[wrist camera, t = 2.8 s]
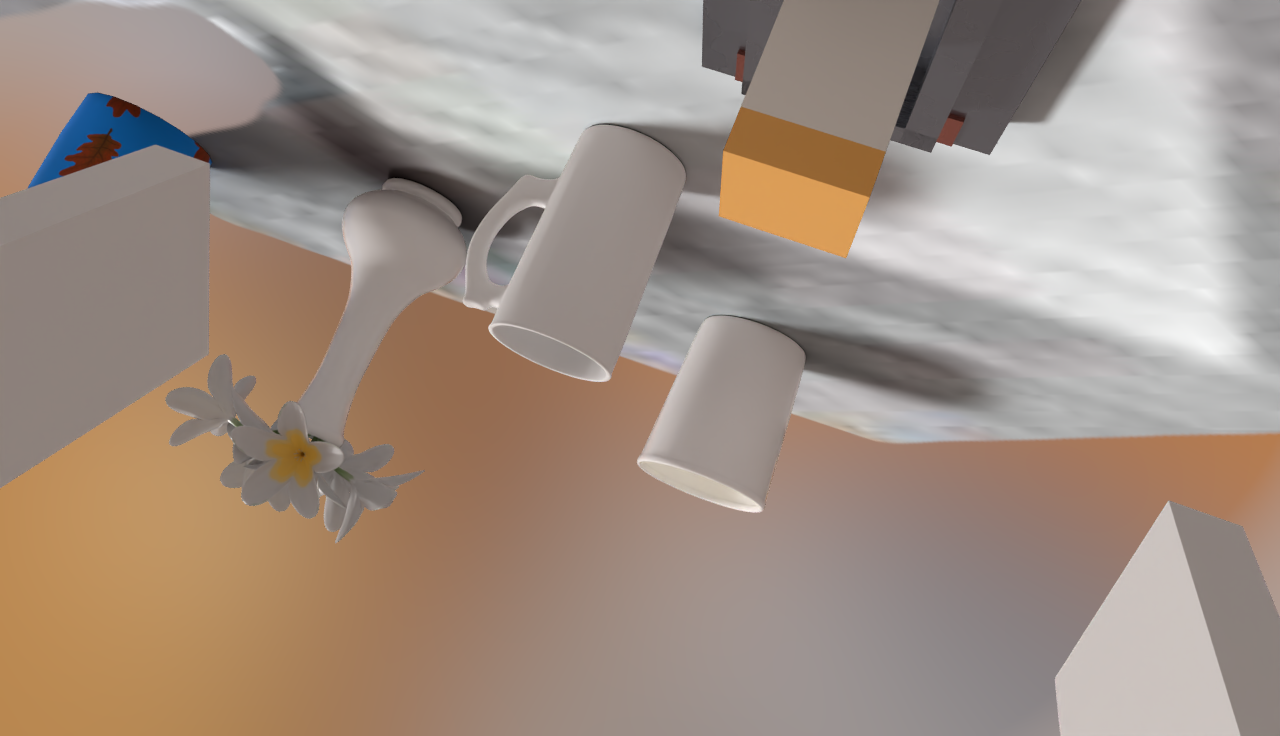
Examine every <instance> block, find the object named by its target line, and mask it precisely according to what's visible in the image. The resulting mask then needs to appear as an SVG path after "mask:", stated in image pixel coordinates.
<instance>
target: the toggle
mask: <svg viewBox="0 0 1280 736" xmlns="http://www.w3.org/2000/svg"><path fill="white" fill-rule="evenodd" d="M938 3H939V0H784V1H783V4H782V6H781V9H780V11H779V14H778V16H777V19H776V21H775V24H774V26H773V28H772V31H771V33H770V36H769V38H768V41H767V43H766V46H765V48H764V51H763V53H762V56H761V58H760V61H759V63H758V66H757V68H756V71H755V73H754V76H753V78H752V81H751V83H750V86H749V88H748V91H747V93H746V95H745V98H744V100H743V103H742V105H741V108H740V110H739V113H738V115H737V118H736V120H735V123H734V125H733V128H732V130H731V133H730V135H729V138H728V140H727V143H726V145H725V148H724V150H723V162H722V177H721V192H720V207H719V216H720V217H723V218H726V219H729V220H732V221H735V222H738V223H741V224H744V225H747V226H750V227H753V228H756V229H759V230H762V231H765V232H768V233H771V234H774V235H777V236H780V237H783V238H786V239H789V240H792V241H796V242H799V243H802V244H805V245H808V246H811V247H814V248H817V249H820V250H823V251H826V252H829V253H832V254H835V255H838V256H841V257H844V258H846V257H847V255H848V252H849V249H850V247H851V244H852V242H853V239H854V237H855V234H856V231H857V229H858V226H859V224H860V221H861V219H862V216H863V213H864V211H865V208H866V206H867V203H868V201H869V198H870V195H871V192H872V190H873V187H874V184H875V181H876V178H877V175H878V173H879V170H880V167H881V164H882V161H883V158H884V156H885V153H886V150H887V147H888V144H889V142H890V139H891V136H892V133H893V130H894V127H895V125H896V122H897V119H898V116H899V113H900V110H901V108H902V105H903V102H904V99H905V96H906V94H907V91H908V88H909V85H910V82H911V79H912V77H913V74H914V71H915V68H916V65H917V63H918V60H919V57H920V54H921V51H922V48H923V46H924V43H925V40H926V37H927V34H928V31H929V29H930V26H931V23H932V20H933V17H934V15H935V12H936V9H937V6H938Z"/></svg>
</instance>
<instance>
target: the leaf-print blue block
mask: <svg viewBox="0 0 1280 736" xmlns="http://www.w3.org/2000/svg"><path fill="white" fill-rule="evenodd" d="M153 145H158V146H161V147H164V148H167V149H170V150H173V151H176V152H178V153H181V154H184V155H187V156H190V157H193V158H195V159H198V160H201V161H204V162H207V163H210V165H211V163H212V161H211V159H210V157H209V155H208V153H207V152H206V151H205V150H204V149H203V148H202V147H201V146H200V145H199V144H198V143H196V142H195V141H194V140H192V139H191V138H190V137H188V136H187V135H186V134H185V133H183V132H182V131H180V130H179V129H177V128H176V127H174V126H173V125H171V124H169V123H168V122H166V121H164V120H163V119H161V118H160V117H158V116H156V115H154V114H152V113H150V112H148V111H146V110H144V109H142V108H140V107H138V106H136V105H134V104H132V103H129V102H126V101H124V100H121V99H119V98H116V97H113V96H110V95H105V94H101V93H90V94H88V95H87V96H86V97H85V99H84V100H83V102H82V103H81V105H80V106H79V107H78V109H77V110H76V112H75V113H74V115H73V116H72V117H71V119H70V120H69V122H68V123H67V125H66V126H65V128H64V129H63V130H62V132H61V134H60V135H59V137H58V139H57V140H56V142H55V143H54V145H53V147H52V148H51V150H50V152H49V153H48V155H47V157H46V159H45V160H44V162H43V163H42V165H41V167H40V168H39V170H38V171H37V173H36V175H35V176H34V178H33V180H32V181H31V183H30V185H29V186H28V188H31V187H34V186H36V185H39V184H42V183H45V182H48V181H51V180H54V179H57V178H60V177H63V176H66V175H68V174H71V173H74V172H77V171H80V170H83V169H86V168H89V167H92V166H95V165H98V164H100V163H103V162H106V161H109V160H112V159H115V158H118V157H121V156H124V155H127V154H130V153H132V152H135V151H138V150H141V149H144V148H147V147H150V146H153ZM28 188H27V189H28Z"/></svg>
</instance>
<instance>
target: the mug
mask: <svg viewBox="0 0 1280 736" xmlns="http://www.w3.org/2000/svg"><path fill="white" fill-rule="evenodd" d="M685 181H686V172H685V169H684V167H683V165H682V163H681V162H680V161H679V159H678V158H677V157H676V156H675V155H674V154H673V153H672V152H671V151H670V150H668V149H667V148H666V147H664V146H663V145H662V144H660V143H659V142H657V141H655V140H654V139H652V138H650V137H648V136H646V135H644V134H641V133H639V132H636V131H634V130H631V129H627V128H624V127H620V126H614V125H595V126H592V127H589V128H587V129H586V130H584V131H583V133H582V134H581V136H580V137H579V139H578V142H577V144H576V146H575V148H574V150H573V152H572V154H571V156H570V158H569V160H568V162H567V164H566V166H565V168H564V170H563V172H562V174H561V176H560V177H559V178H557V179H541V178H537V177H534V176H531V175H524V176H523V177H522V178H520V179H519V181H518V182H517V183H516V184H515V185H514V186H513V187H512V188H511V189H510V190H509V191H508V192H507V193H506V194H505V195H504V196H503V197H502V198H501V199H500V200H499V201H498V202H497V203H496V204H495V206H494V207H493V208H492V209H491V210H490V211H489V212H488V214H487V215H486V216H485V217H484V219H483V220H482V222H481V223H480V225H479V226H478V228H477V230H476V231H475V233H474V235H473V237H472V240H471V242H470V245H469V248H468V253H467V258H466V270H465V281H466V289H465V295H464V298H463V303H464V304H465V305H466V306H467V307H472V308H477V309H481V310H487V309H489V308H490V307H496V308H498V309H497V312H496V314H495V317H494V319H493V321H492V323H491V324H490V325H489V331H490V333H491V334H492V336H493V337H494V338H495V339H497V340H498V341H499V342H500V343H502V344H503V345H504V346H506V347H508V348H509V349H510V350H512V351H514V352H515V353H517V354H519V355H521V356H523V357H525V358H527V359H529V360H531V361H533V362H535V363H537V364H539V365H541V366H544V367H546V368H549V369H551V370H554V371H556V372H559V373H562V374H565V375H568V376H572V377H575V378H579V379H583V380H588V381H594V382H605V381H608V380H610V378H611V374H612V371H613V369H614V366H615V364H616V362H617V359H618V357H619V355H620V353H621V350H622V348H623V345H624V343H625V340H626V337H627V335H628V332H629V330H630V327H631V324H632V322H633V319H634V317H635V314H636V311H637V309H638V306H639V303H640V301H641V298H642V295H643V293H644V290H645V288H646V285H647V282H648V280H649V277H650V274H651V272H652V269H653V267H654V264H655V261H656V259H657V256H658V254H659V251H660V248H661V246H662V243H663V241H664V238H665V236H666V233H667V230H668V228H669V225H670V223H671V220H672V217H673V214H674V212H675V209H676V206H677V203H678V201H679V198H680V195H681V192H682V190H683V187H684V184H685ZM531 206H538V207H541V208H544V209H545V210H544V212H543V214H542V216H541V218H540V220H539V222H538V225H537V227H536V229H535V231H534V233H533V235H532V237H531V239H530V241H529V243H528V245H527V248H526V250H525V252H524V254H523V256H522V258H521V260H520V262H519V264H518V266H517V268H516V270H515V273H514V275H513V277H512V279H511V281H510V283H509V284H508V285H504V286H501V285H497V284H494V283H493V282H491V281H490V279H489V277H488V274H487V255H488V251H489V248H490V246H491V243H492V241H493V240H494V238H495V236H496V235H497V233H498V232H499V230H500V229H501V228H502V227H503V225H504V224H505V223H506V222H507V221H508V220H509V219H510V218H511V217H512V216H514V215H515V214H517V213H518V212H520V211H521V210H523V209H525V208H528V207H531Z"/></svg>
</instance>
